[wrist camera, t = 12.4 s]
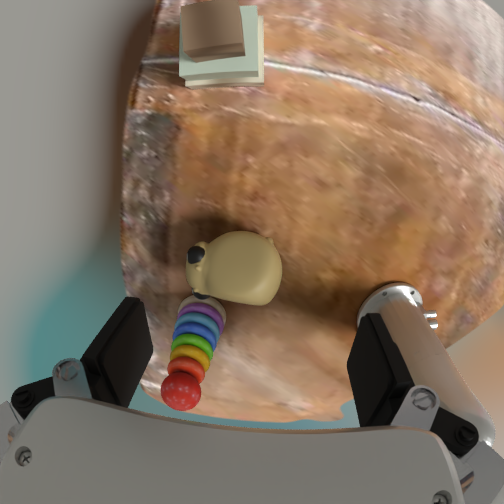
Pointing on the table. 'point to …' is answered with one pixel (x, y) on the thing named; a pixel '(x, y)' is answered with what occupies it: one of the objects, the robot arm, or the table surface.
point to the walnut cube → (212, 30)
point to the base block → (237, 81)
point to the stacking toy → (192, 350)
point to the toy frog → (235, 268)
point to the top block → (227, 66)
